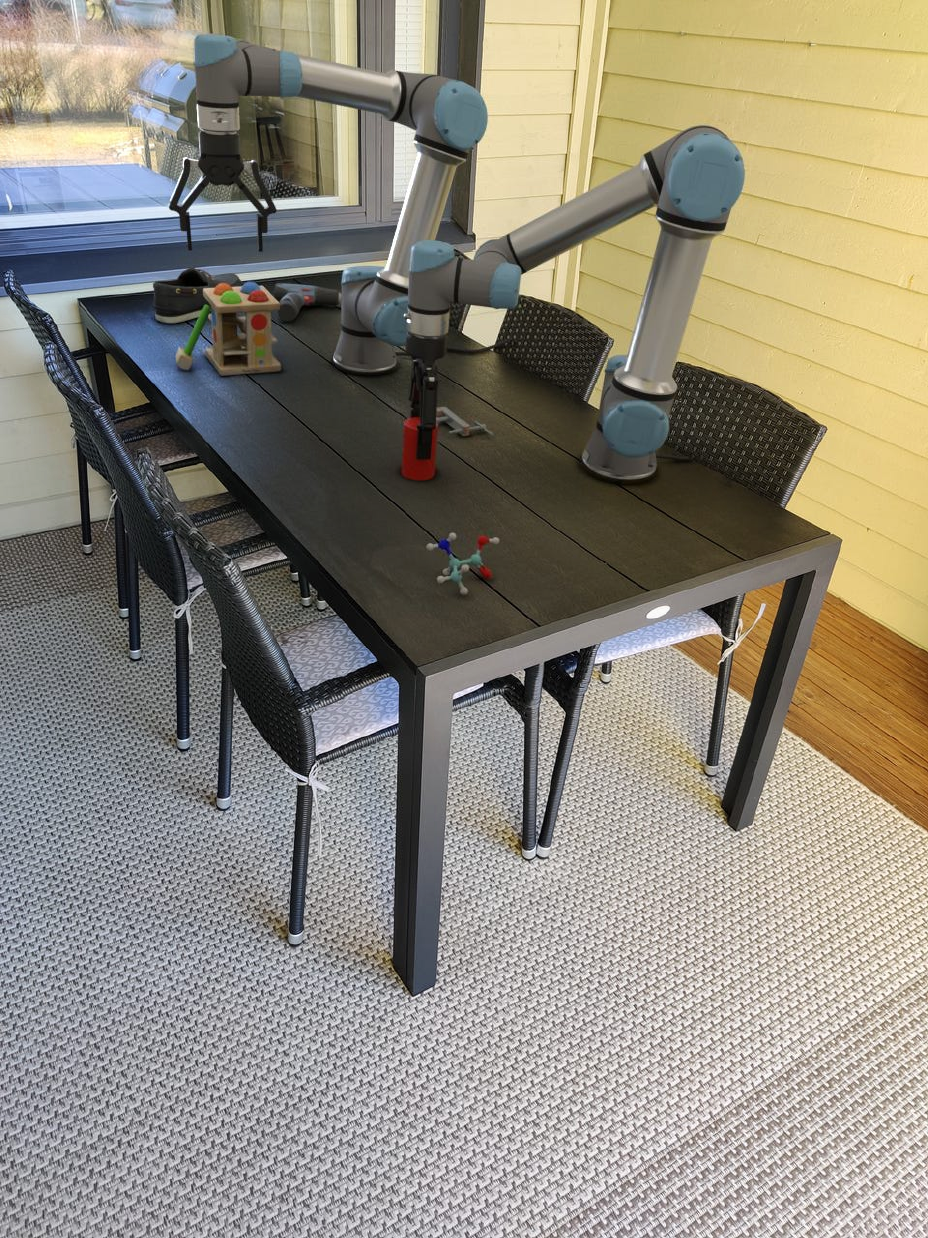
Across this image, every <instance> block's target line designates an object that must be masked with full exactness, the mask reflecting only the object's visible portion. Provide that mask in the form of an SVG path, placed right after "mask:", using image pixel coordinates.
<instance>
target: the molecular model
mask: <svg viewBox="0 0 928 1238" xmlns="http://www.w3.org/2000/svg"><path fill="white" fill-rule="evenodd" d="M456 539H457V534H456V533H455V532H450V533H449V534H448V538H444V539H441V540H440V541H439V542H438V543H434V544H433V543H427V545H426V550H427V551H428V552H432V551H433V550H434V549H439V548H440V549H441V550H444V551H445V552H446V554H447V556H448V558H449V563H448V566H449V567H447V568H443V570H442V575H438V576H437V578H436V581H437V583H438V584H440V585H442V584H443V583H444V582H446V581H447V582H448V581H452V582H453V583H457V585H458V587H459V589H460V590H459V593H460V594H461V595H462V596H466V595H467V594H468V592H469V590H468V588H466V587H464V585H463V582H462V579H463V574H464V573H467V572H469V570H470V566H469V565H468V564H471V565H473V566H474V567H475V566H476V568H477V569H478V571H479V572H480V573H481V577H482V578H483V579H486V580H488V579H490V578H491V577H492V571H491V569H488V568H487V567H486V566H485V565H484V563H483V562H482V557H481V556H480V555H481V551H482V549H483V547H484V546H485V545H486V544H491V543H492V544H493V545H498V544H499V543H500V538H498V537H496V536H495V537H493V538H488V537H486V536H484V535H480V536H478V537H477V540H476V541H477V544H478V547H477V548H476V552H475V554H472V555H471V557H470V558H468V559H463V560H460V559H458V558H456V557H455V556H454V555H453V553H452V552H451V549H450V547H451V541H455V540H456ZM454 557H455V558H454ZM460 567H461V568H460ZM458 569H459V570H458ZM452 570H453V571H452ZM451 571H452V572H451Z"/></svg>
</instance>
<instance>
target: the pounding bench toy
mask: <svg viewBox="0 0 928 1238" xmlns="http://www.w3.org/2000/svg"><path fill="white" fill-rule="evenodd" d="M203 296H204V297H205V299H206V300H207V301H208V302H209V304H210V305H211V307H210V306H208V305H204V307H203V309H202V311H201V314H200V316H199V317H197V320H196V322H195V324H194V327H193V329H192V331H191V332H190V333H191V334H190V336H189V338H188V340H187V343H186V344H185V347H184V348H182V347H180V346H179V347H178V349H177V351H176V354H175V357H174V358H175V362H176V365H177V366H178V368H179V369H182V370H185V371H189V370H190V369H191V367H192V365H193V363H194V356H193V351H194V348H195V347H196V345H197V342H198V340H199V337H200V336H201V333H202V332H203V329H204V326H205V325H206V322H207V320H209V321H210V322H211V336H212V337H211V338H212V339H211V340H212V348H205V349H204V352H205V353H204V355H205V357H206V359H208V361H209V363H210V364H211V365H212V366H213V367H214V369H215V370H216V371H217V372H218V374H219V375H220V376H222V377H223V376H234V375H235V376H236V375H246V374H247V375H250V374H262V373H275V372H281V370H282V364H281V363H280V362H279V360H278V359H277V358H276V357H275V356H274V355H273V348H272V347H273V345H272V344H276V343H278V342H279V341H278V339H277V338H276V337H275V336H274V334H272V311H278V310H280V302H278V301H277V300H276V299H275V296H273V295H272V294H271V293H270V292H269V290H268V289H267V288H266V287H264V285H259V284H257V283H256V282H255V281H247V282H245V283H244V284H242V287H231V286H230V285H228V284H226V283H221V284H218V285H217V286H216V287H215V288H204V289H203ZM210 310H211V311H210ZM238 313H244V314H245V315H244V316H238ZM238 329H239V331H240V333H239V334H238Z"/></svg>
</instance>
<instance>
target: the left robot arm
mask: <svg viewBox="0 0 928 1238" xmlns="http://www.w3.org/2000/svg"><path fill="white" fill-rule="evenodd" d="M193 39H194V40H193V68H194V78H195V93H196V114H197V127H198V128H199V130H200V131H199V132H198V144H199V158H198V159H194V158H190V157H188V156H184V157H183V158H182V159H183V160H182V170H181V173H180V175H179V177H178V180H177V183H176V185H175V188H174V190H173V192H172V194H171V197H170V199H169V202H168V209H169V210H170V211H171V212H175V213H177V214H178V215H179V216H178V218H179V228H180V231H181V232H186V243H187V245H186V246H187V251H193V245H192V244H193V243H192V231H191V230H192V229H191V215H190V211H189V209H190V208H191V207H192V205H193V204H194V202H196V200H197V198H199V196H200V195H201V194H202V192H203V191H204V189H205V188H207V187H208V185H209V184H211V185H213V186H216V187H217V186H225V187H231V186H233V185H236V187H238V188H239V189H238V190H240V191H241V192H242V193H243V194H244V196H245V197H246V198H247V200H248V201H249V202H250V204H252V206H254V208H255V209H256V210H257V212H259V213H256V236H257V237H256V239H257V241H256V242H257V250H258V252H259V253H261V252H264V248H263V246H264V245H263V234H267V233H268V230H269V229H268V228H269V227H268V226H269V225H268V217H269V216H270V215H272V214H276V213H277V211H278V210H277V207H276V205H275V203H274V201H273V199H272V197H271V194H270V193H269V191H268V189H267V187H266V184H265V183H264V181H263V179H262V177H261V175H260V169H259V163H258V162H257V161H258V160H256V159H251V160H250V161H243V160H242V152H241V151H242V149H241V147H242V146H241V135H240V133H239V132H238V131H239V130H240V129H241V124H240V102H239V99H240V98H239V97H240V96H241V97H266V98H267V97H268V98H269V97H271V98H281V99H284V98H292V97H297V98H300V99H301V98H302V99H306V100H309V101H310V100H311V101H315V102H321V103H326V104H329V105H334V106H335V105H336V106H339V107H344V108H350V109H355V110H360V111H364V112H369V113H373V114H374V113H376V114H379V115H380V116H381V118H382V119H383V120H384V121H389V122H392V123H396V124H399V125H402V126H404V127H406V128H409V129H411V130H413V131H415V134H414V137H413V145H414V147H415V149H416V152H417V153H416V158H415V160H414V165H413V168H412V172H411V176H410V179H409V181H408V182H409V183H408V186H407V190H406V193H405V197H404V201H403V204H402V208H401V211H400V216H399V219H398V222H397V225H396V229H395V233H394V237H393V240H392V243H391V247H390V251H389V254H388V259H387V262H386V265H385V266H379V265H355V266H350V267H346V268H345V269H343V270H342V271H343V272H342V275H341V282H340V286H341V294H342V302H341V313H340V314H341V316H340V317H341V319H340V321H341V324H340V325H341V326H340V329H341V330H340V336H339V338H338V341H337V344H336V348H335V350H334V352H333V361H332V362H333V363H332V364H333V366H334V367H335V368H337V369H338V370H339V371H342V372H344V373H347V374H352V375H356V376H380V375H381V376H382V375H386V374H389V373H391V372H393V371H395V369H396V368H397V361H398V360H397V357H398V356H399V357H410V356H409V355H408V354H407V353H406V351H395V347H405V345H406V333H407V332H408V330H407V319H405V318H404V314H408V284H409V267H410V258H411V248H412V246H413V245H414V244H415V243H417V242H419V241H424V240H435V241H436V238H437V235H438V232H439V228H440V225H441V220H442V217H443V214H444V210H445V207H446V204H447V200H448V197H449V194H450V190H451V187H452V184H453V180H454V177H455V174H456V170H457V167H458V166H460V165H462V164H463V163H465V162H466V161H467V158H468V155H469V153H470V150H471V149H472V148H474V147H475V146H476V145H477V144H479V143H480V141H481V140H482V139H483V138H484V135H485V133H486V131H487V128H488V120H489V118H488V117H489V113H488V108H487V104H486V102H485V100H484V97H483V96H482V94H481V93H480V92H479V91H478V90H477V89H476V88H475V87H473V86H472V85H469V84H468V83H466V82H464V81H461V80H458V79H452V78H448V77H445V76H442V75H439V74H434V73H433V74H432V73H420V72H418V73H417V72H409V71H408V72H407V71H400V70H395V69H390V70H388V71H386V73H384V72H381V71H375V70H372V69H371V70H370V69H367V68H362V67H357V66H353V65H350V64H349V65H348V64H344V63H340V62H336V61H331V60H327V59H321V58H317V57H313V56H308V55H303V54H299V53H296V52H292V51H287V50H282V49H277V48H271V47H267V46H263V45H258V44H256V43H255V44H254V43H250V42H249V41H246V40H236V39H235V38H234V37H233V36H230V35H226V34H225V35H223V34H215V33H214V34H212V33H202V34H197V35H196V36H195V37H194V38H193ZM197 167H198V169H199V170H200V171H201V174H202V176H201V177H200V178H199V180H198V181H197V182H196V184H195V185H194V186H193V188H192V189H191V190H190V192H189V193H188V194H187V196H186V197H185V198H184V199H183V201H182V202H181V203H180V204H179V201H180V199H181V196H182V194H183V192H184V189H185V187H186V186H187V182H188V180H189V177H190V174H191V172H194V171H195V168H197ZM244 169H245V170H247V172H248V174H250V175H252V176H253V178H254V182H255V183H256V185H257V187H258V189H259V192H260V193H261V195H262V197H263V199H264V201H265V203H266V205H267V206H264V205H263V204H262V202H261V201H260V200H259V199H258V198H257V196H256V195H255V194H254V192H252V190H251V189H250V188H249V187H248V186H247V184H246V183H245V182H244V180H243V179H242V178H241V174H242V173H243V171H244ZM507 339H508V338H505V339H503V340H501V341H500V342H498V343H495V344H492V345H489V346H486V347H483V348H478V349H466V348H459V347H453V346H447V352H448V351H449V352H456V353H463V354H480V353H485V352H489V351H491V350H494V349H497V348H500V347H502V346H503V345H505V344H507V343H509V342H508V340H507ZM510 343H513V344H514V345H517V344H516V343H515V342H512V341H511V342H510Z"/></svg>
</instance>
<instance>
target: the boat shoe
mask: <svg viewBox="0 0 928 1238" xmlns="http://www.w3.org/2000/svg"><path fill="white" fill-rule="evenodd" d="M221 283H226V284H228V285H230V286H231V287H242V286H243V281H242V280H241V279H240V277H239V276H238V275H237V274H235V273H231V272H230V273H228V272H227V273H223V274H217V275H213V276H212V275H211V274H210V273H209V272H207V271H205V270H204V269H199V268H195V267H189V268H187V269H184V270H183V271H182V272H180V274H179V275H178V276H177V278H176V279H170V280H169V279H168V280H156V281H153V282H152V289H153V304H152V308H154V310H155V311H154V317H155V320H156V321H159V322H160V323H164V324H176V323H177V324H178V323H183V322H186V321H190V320H193V319H198V318H199V316H200V314H201V311H202V309H203V307H204V305H208V306H210V307H211V305H210V304H209V302H208V301H207V300H206V299H205V297H204V296H203V289H204V288H215V287H216V286H217V285H218V284H221ZM210 312H211V310H210Z"/></svg>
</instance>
